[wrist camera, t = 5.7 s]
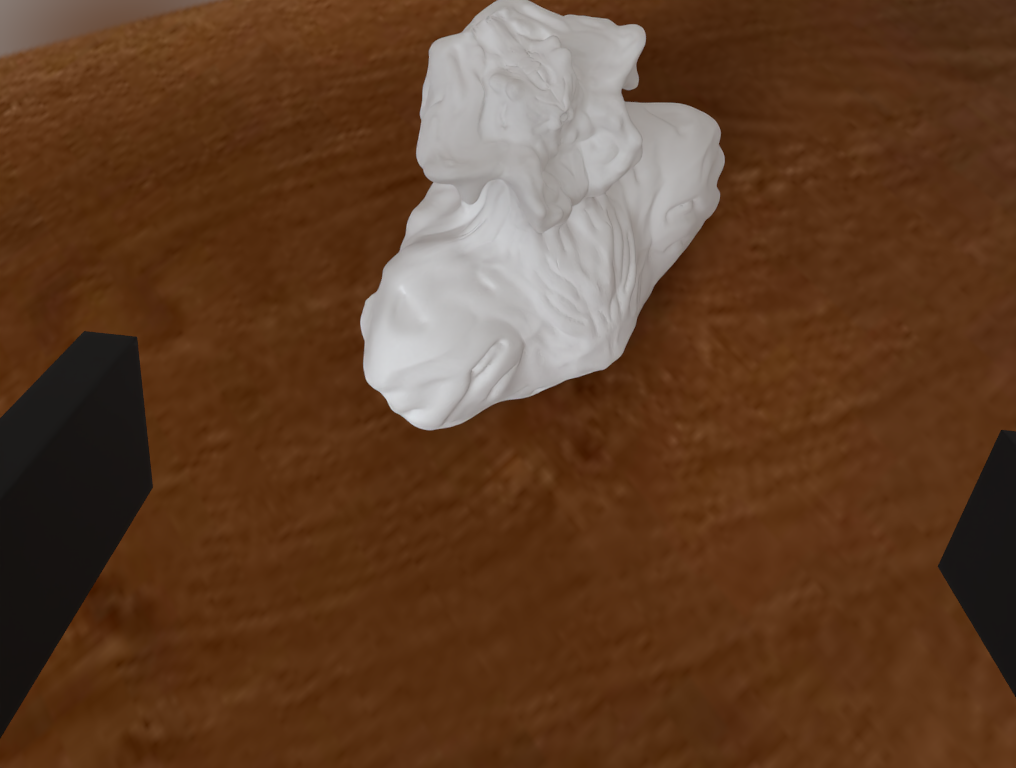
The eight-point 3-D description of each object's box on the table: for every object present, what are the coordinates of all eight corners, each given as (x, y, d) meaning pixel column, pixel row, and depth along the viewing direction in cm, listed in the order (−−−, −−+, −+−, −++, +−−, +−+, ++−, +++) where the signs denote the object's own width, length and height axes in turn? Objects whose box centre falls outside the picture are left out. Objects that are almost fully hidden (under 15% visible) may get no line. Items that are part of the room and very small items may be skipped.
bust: (649, 209, 31) (553, -132, 23) (823, 289, 26) (770, -121, 18) (373, 419, 28) (164, 111, 21) (501, 557, 23) (281, 210, 15)
